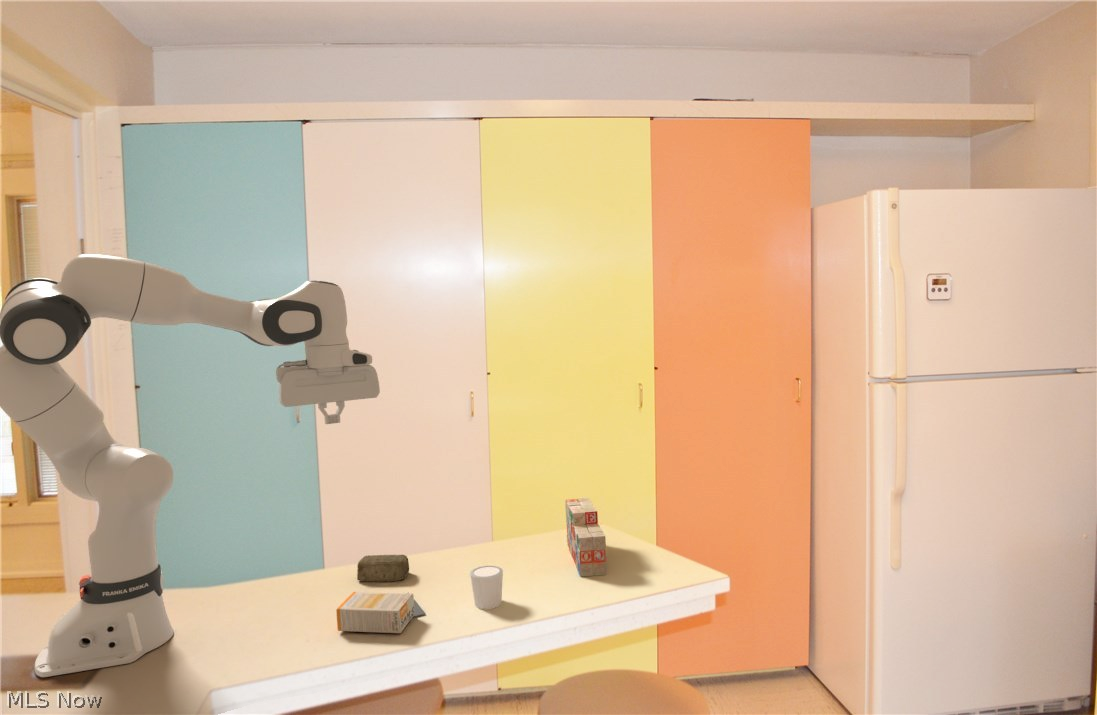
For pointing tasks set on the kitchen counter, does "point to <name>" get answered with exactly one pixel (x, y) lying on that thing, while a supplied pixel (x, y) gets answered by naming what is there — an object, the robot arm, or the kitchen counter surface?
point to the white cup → (487, 586)
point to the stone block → (382, 568)
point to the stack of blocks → (585, 537)
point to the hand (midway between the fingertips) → (332, 423)
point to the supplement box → (375, 612)
